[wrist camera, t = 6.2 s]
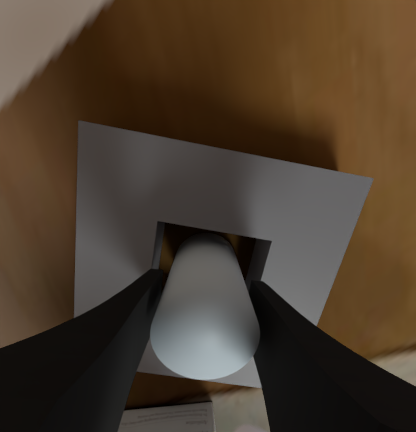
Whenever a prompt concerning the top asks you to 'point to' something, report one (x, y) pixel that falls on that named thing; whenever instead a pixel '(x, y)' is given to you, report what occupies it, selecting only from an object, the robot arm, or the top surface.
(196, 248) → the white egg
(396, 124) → the top surface
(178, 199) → the dock
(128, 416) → the skincare box
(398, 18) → the top surface
